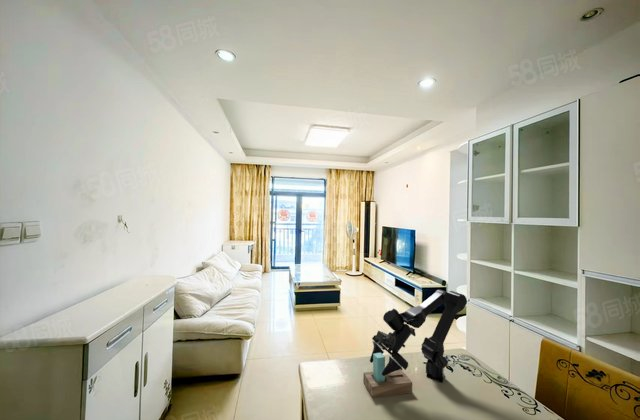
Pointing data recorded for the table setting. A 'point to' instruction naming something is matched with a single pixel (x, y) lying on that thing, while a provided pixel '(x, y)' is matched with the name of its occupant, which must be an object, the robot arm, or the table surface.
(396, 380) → the bore block
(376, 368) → the teal square peg
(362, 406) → the table surface
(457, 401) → the table surface
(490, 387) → the table surface
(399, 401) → the table surface
